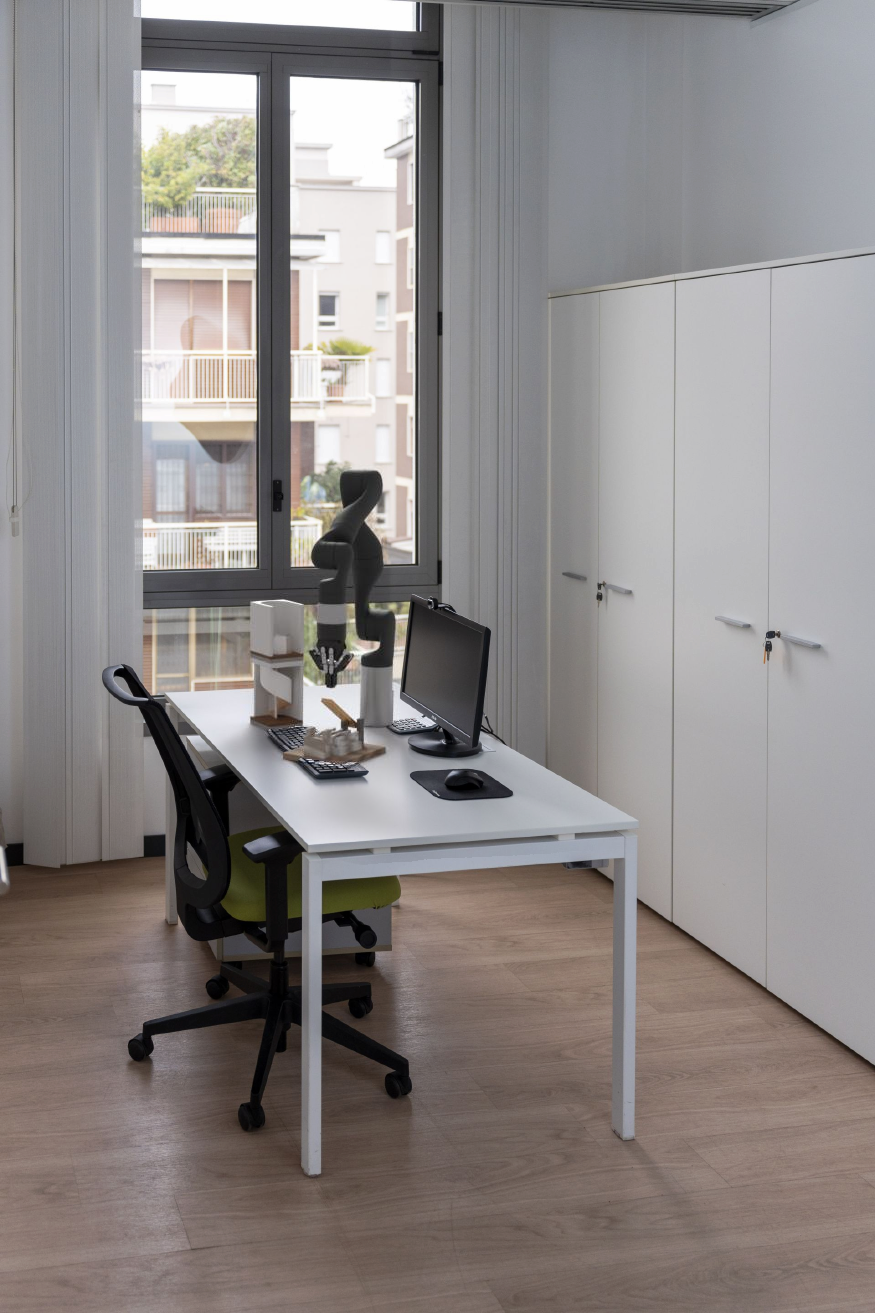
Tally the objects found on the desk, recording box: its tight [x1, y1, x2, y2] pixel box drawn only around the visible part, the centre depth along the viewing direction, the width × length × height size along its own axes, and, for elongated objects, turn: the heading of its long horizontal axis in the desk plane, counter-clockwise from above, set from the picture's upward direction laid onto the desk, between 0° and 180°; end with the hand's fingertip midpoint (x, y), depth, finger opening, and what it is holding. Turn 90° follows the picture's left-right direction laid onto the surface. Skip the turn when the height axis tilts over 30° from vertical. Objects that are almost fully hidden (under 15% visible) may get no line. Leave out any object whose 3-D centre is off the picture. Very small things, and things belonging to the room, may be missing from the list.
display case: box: [249, 599, 305, 731], centre depth 374 cm, size 11×11×35 cm
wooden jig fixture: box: [282, 717, 387, 764], centre depth 344 cm, size 21×18×9 cm
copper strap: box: [320, 697, 357, 729], centre depth 344 cm, size 16×3×2 cm, turn 153°
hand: (330, 687), depth 339 cm, fingers closed
